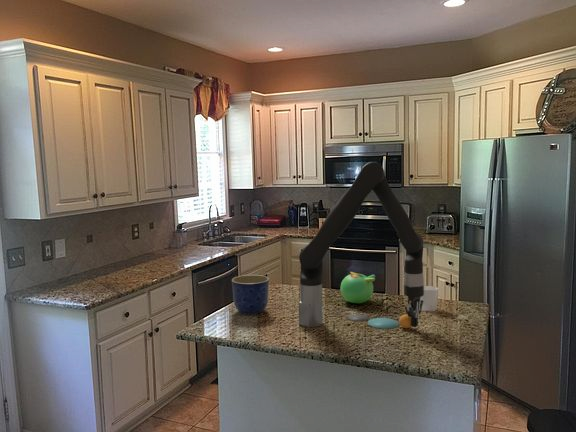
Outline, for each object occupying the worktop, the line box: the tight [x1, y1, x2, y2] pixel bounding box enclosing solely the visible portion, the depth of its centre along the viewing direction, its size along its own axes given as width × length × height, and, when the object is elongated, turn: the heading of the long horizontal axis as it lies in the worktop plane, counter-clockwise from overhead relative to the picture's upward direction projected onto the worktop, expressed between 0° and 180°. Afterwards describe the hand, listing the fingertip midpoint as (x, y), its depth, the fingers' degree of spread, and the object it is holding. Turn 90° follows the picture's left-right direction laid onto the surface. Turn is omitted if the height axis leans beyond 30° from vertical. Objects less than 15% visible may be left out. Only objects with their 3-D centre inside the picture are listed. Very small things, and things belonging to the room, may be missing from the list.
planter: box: [231, 274, 270, 315], centre depth 214 cm, size 17×17×15 cm
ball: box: [398, 314, 412, 329], centre depth 190 cm, size 6×6×6 cm
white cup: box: [420, 285, 439, 312], centre depth 214 cm, size 8×8×10 cm
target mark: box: [367, 317, 400, 330], centre depth 196 cm, size 13×13×1 cm
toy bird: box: [340, 271, 376, 304], centre depth 227 cm, size 18×17×15 cm
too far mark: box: [347, 314, 370, 323], centre depth 204 cm, size 9×9×1 cm
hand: (414, 326), depth 188 cm, fingers closed
